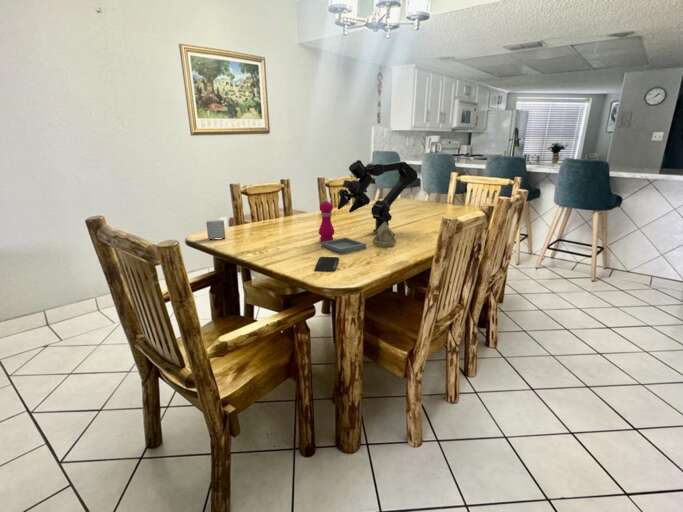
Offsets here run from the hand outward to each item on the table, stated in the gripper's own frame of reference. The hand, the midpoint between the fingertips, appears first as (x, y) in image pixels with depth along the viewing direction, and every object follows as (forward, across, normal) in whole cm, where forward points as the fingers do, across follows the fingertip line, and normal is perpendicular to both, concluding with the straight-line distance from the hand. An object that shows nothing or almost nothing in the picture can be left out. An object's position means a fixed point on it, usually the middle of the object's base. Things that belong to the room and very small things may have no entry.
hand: (343, 210), depth 171 cm
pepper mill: (+16, 0, +3) cm, 17 cm away
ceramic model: (+3, +18, +17) cm, 25 cm away
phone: (+30, +28, -10) cm, 43 cm away
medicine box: (+45, -35, -26) cm, 63 cm away
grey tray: (+17, +14, +2) cm, 22 cm away
